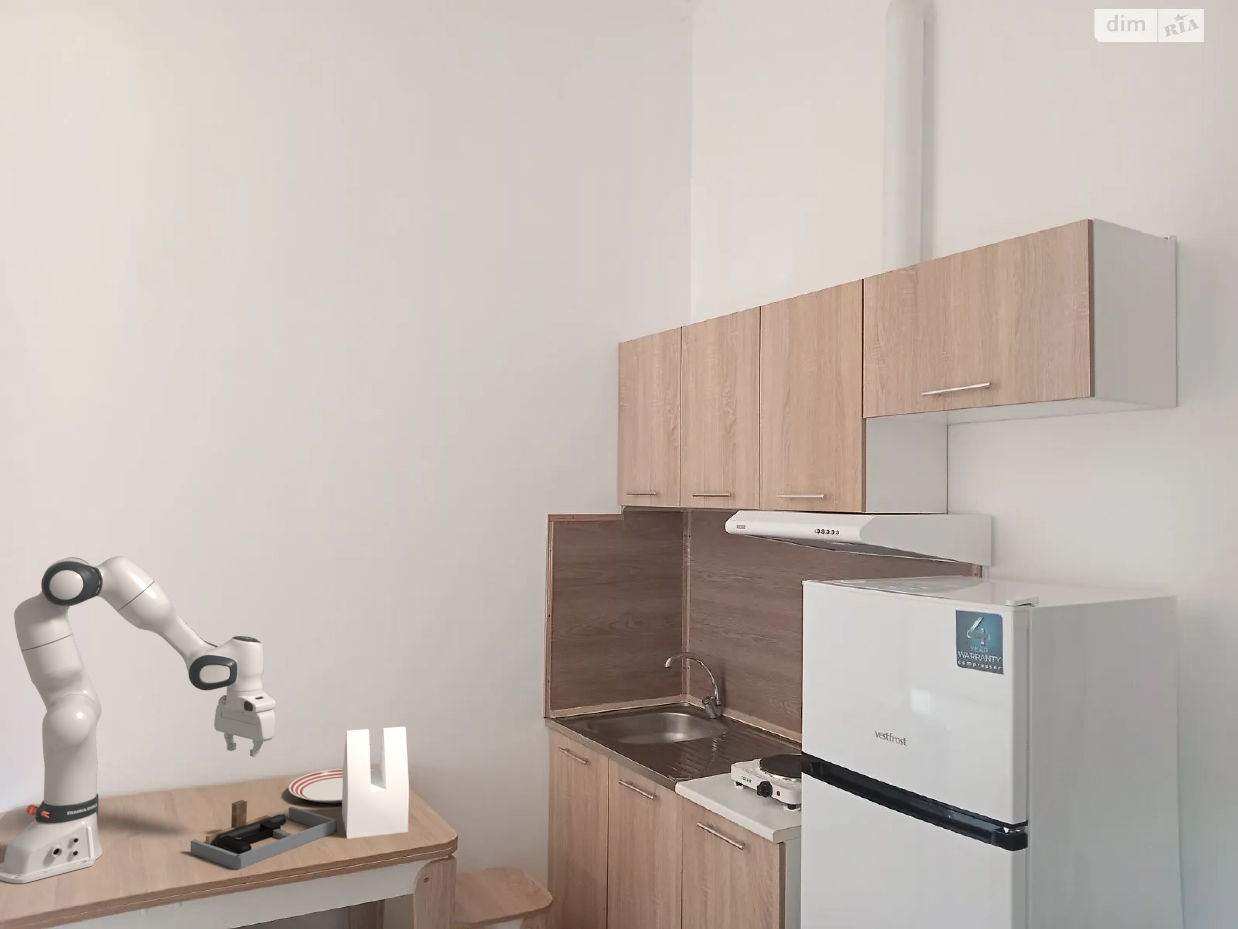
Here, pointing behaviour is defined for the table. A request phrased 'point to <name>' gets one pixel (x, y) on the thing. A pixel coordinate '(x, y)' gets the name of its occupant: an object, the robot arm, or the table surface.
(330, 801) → the dinner plate
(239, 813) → the walnut scraper
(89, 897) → the table surface
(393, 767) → the white fork-shaped stand
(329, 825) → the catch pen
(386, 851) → the table surface
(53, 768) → the robot arm
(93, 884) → the table surface
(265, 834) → the black angular piece
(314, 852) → the table surface
